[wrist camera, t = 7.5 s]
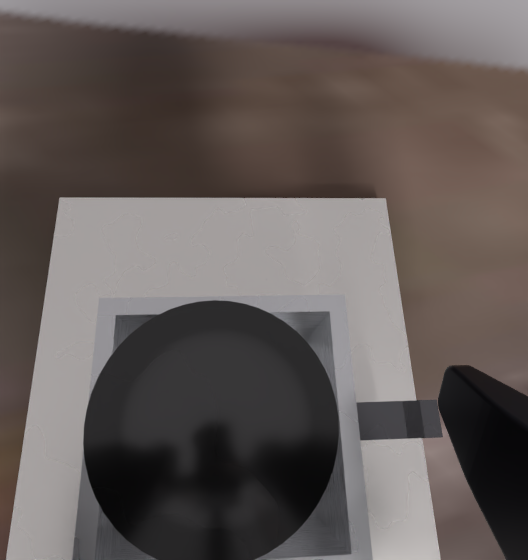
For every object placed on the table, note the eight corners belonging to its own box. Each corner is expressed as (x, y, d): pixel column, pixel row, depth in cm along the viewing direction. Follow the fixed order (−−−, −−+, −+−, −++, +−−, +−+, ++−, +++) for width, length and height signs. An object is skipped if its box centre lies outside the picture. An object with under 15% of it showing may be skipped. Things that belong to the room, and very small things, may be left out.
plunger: (306, 506, 15) (460, 673, 5) (149, 514, 14) (-59, 715, 4) (296, 351, 16) (392, 229, 6) (157, 355, 16) (26, 229, 6)
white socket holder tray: (457, 738, 14) (623, 968, 8) (-16, 782, 13) (-232, 1087, 7) (380, 206, 21) (438, 116, 15) (66, 206, 19) (-8, 108, 14)
